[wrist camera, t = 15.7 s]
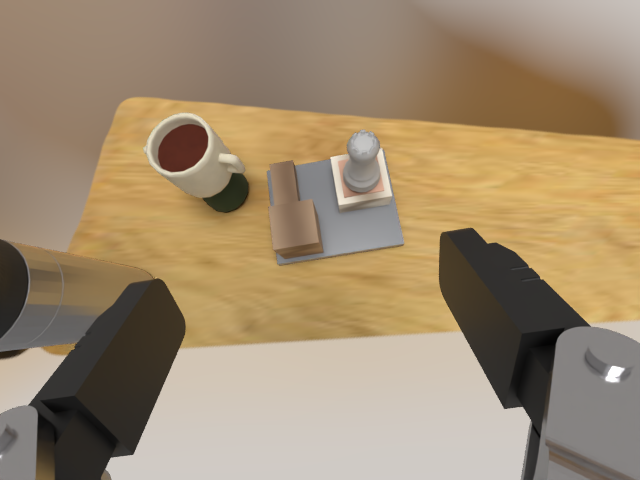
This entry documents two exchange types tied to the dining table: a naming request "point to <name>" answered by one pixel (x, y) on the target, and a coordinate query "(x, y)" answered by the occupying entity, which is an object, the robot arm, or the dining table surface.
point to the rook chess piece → (362, 162)
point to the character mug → (197, 161)
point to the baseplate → (343, 216)
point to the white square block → (360, 200)
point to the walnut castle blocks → (292, 216)
